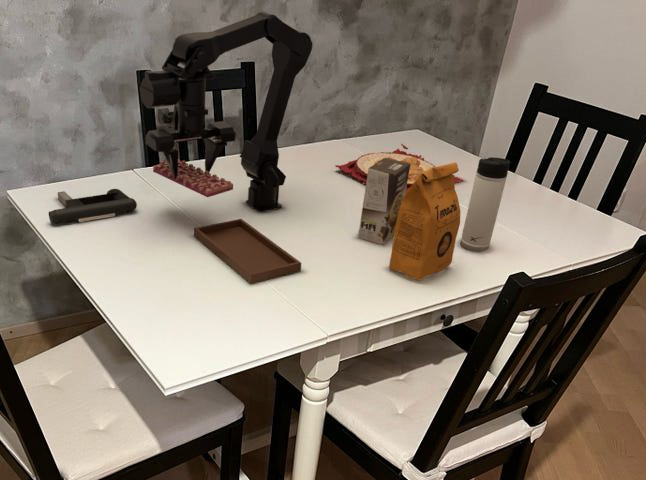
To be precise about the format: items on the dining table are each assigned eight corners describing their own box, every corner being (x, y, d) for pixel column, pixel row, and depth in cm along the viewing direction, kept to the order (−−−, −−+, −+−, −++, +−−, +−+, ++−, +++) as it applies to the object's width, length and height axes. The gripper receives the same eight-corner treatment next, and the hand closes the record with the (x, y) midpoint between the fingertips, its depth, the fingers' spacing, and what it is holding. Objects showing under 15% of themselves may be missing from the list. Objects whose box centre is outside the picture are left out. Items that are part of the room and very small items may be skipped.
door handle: (31, 192, 171) (52, 214, 159) (114, 180, 180) (140, 200, 168) (33, 206, 173) (54, 229, 161) (115, 194, 181) (141, 215, 170)
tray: (240, 226, 167) (241, 218, 166) (300, 271, 151) (301, 262, 150) (193, 236, 162) (193, 227, 161) (250, 284, 145) (250, 274, 144)
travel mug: (474, 254, 161) (495, 165, 150) (454, 242, 166) (473, 154, 155) (495, 250, 164) (518, 161, 153) (475, 238, 169) (496, 151, 157)
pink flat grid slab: (176, 164, 170) (176, 155, 169) (233, 189, 159) (233, 180, 158) (151, 170, 166) (151, 162, 164) (207, 197, 155) (207, 188, 154)
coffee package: (457, 271, 154) (481, 168, 142) (417, 287, 148) (438, 180, 135) (421, 253, 161) (441, 153, 148) (381, 267, 154) (398, 164, 142)
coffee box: (383, 245, 163) (395, 174, 154) (357, 238, 165) (367, 167, 156) (399, 232, 169) (412, 163, 160) (374, 224, 172) (384, 156, 163)
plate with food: (332, 171, 200) (334, 159, 198) (397, 153, 213) (399, 141, 211) (398, 202, 185) (400, 189, 183) (464, 180, 199) (466, 168, 197)
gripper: (212, 87, 163) (211, 157, 172) (133, 96, 154) (136, 169, 163) (238, 101, 155) (235, 173, 164) (156, 111, 147) (158, 186, 155)
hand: (191, 175), depth 162 cm, fingers closed on pink flat grid slab, 7 cm apart
